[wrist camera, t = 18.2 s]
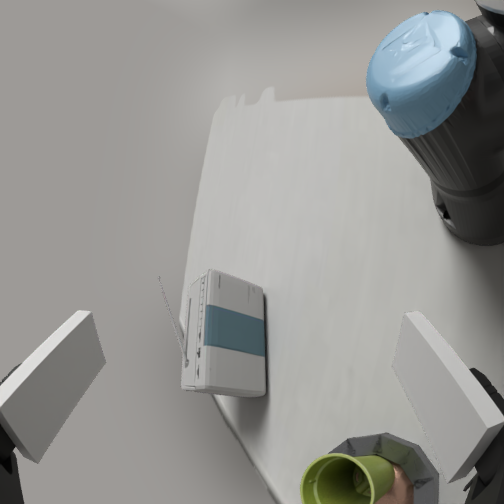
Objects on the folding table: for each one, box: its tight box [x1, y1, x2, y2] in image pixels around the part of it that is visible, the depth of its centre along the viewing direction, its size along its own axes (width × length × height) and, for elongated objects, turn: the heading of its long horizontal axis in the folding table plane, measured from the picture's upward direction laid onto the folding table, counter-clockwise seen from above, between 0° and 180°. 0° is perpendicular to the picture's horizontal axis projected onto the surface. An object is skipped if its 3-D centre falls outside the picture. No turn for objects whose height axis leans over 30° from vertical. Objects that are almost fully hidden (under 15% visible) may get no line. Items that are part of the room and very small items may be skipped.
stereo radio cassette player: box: [157, 269, 266, 397], centre depth 50 cm, size 21×8×20 cm, turn 2°
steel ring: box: [328, 433, 439, 504], centre depth 25 cm, size 18×18×2 cm
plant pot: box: [300, 453, 395, 504], centre depth 25 cm, size 9×9×9 cm
